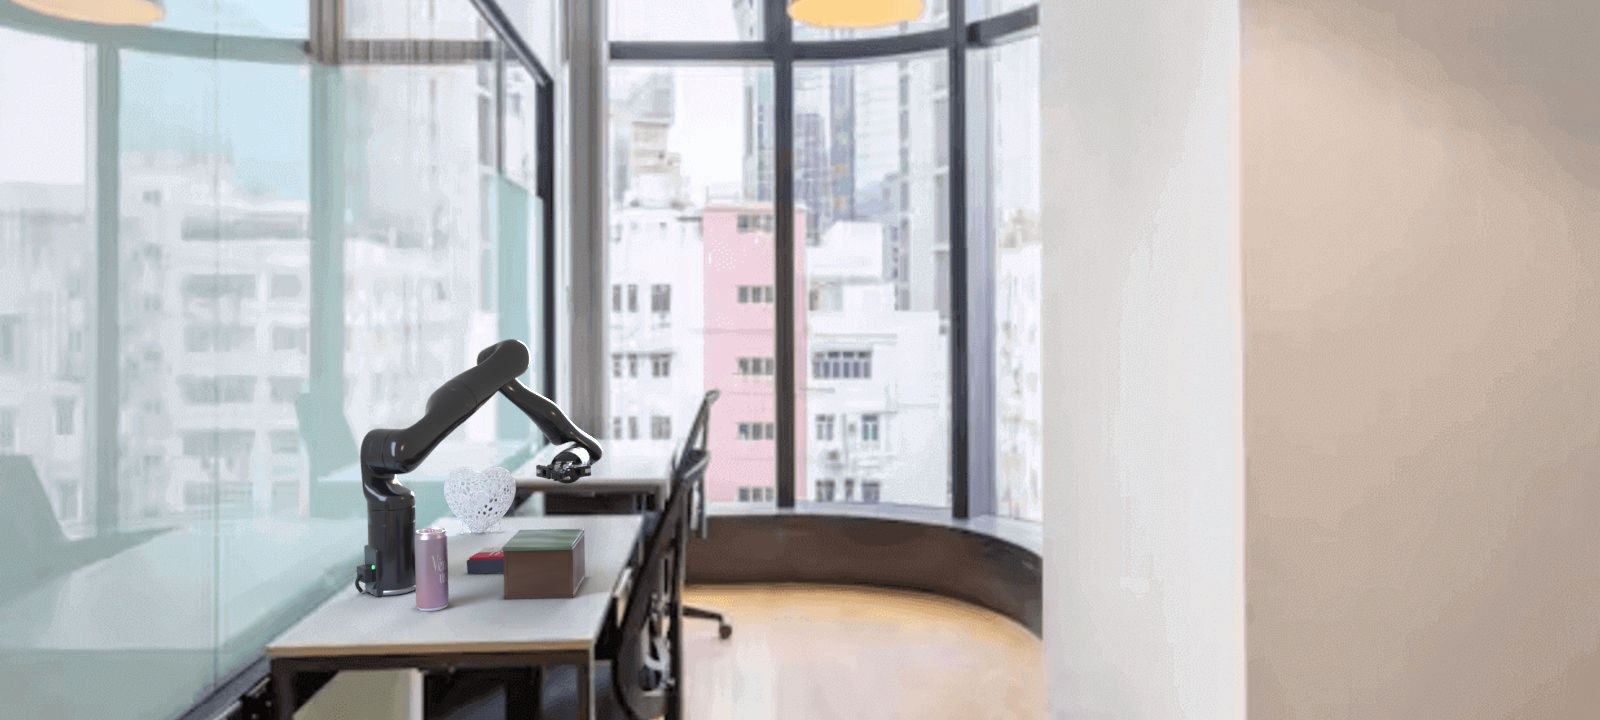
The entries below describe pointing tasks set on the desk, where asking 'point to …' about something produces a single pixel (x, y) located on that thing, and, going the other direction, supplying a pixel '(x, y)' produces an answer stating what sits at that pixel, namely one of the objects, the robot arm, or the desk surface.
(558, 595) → the chest
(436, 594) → the beverage can
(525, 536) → the lid
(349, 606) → the desk surface
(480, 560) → the calculator
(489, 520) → the decorative heart
